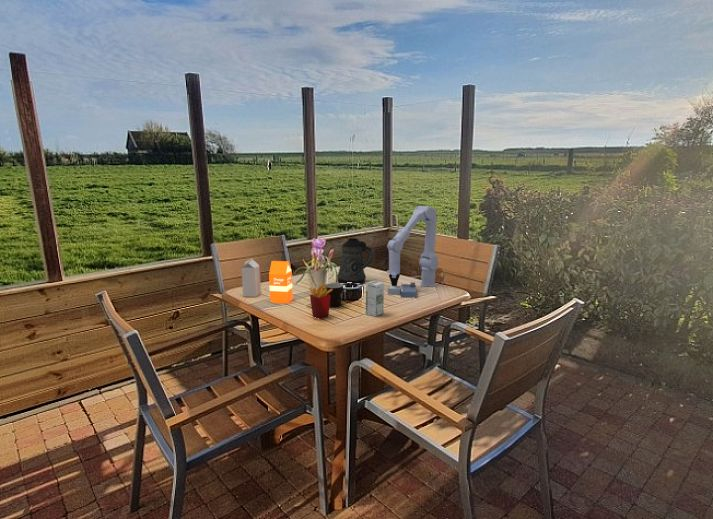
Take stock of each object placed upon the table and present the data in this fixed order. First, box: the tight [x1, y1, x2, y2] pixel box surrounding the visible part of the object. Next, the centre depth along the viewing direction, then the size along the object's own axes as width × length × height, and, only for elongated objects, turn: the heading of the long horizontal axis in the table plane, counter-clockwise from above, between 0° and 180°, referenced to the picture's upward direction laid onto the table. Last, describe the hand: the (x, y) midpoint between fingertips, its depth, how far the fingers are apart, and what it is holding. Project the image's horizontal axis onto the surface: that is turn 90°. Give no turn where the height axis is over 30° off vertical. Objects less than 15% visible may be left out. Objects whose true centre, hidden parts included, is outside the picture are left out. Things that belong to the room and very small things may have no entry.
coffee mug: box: [325, 282, 344, 309], centre depth 200 cm, size 12×9×10 cm
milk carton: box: [240, 257, 262, 298], centre depth 216 cm, size 7×7×19 cm
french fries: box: [309, 283, 333, 320], centre depth 183 cm, size 9×8×15 cm
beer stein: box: [336, 237, 374, 285], centre depth 241 cm, size 16×19×25 cm
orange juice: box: [268, 260, 294, 304], centre depth 206 cm, size 8×9×20 cm
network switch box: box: [400, 282, 417, 298], centre depth 218 cm, size 14×8×4 cm, turn 173°
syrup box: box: [365, 280, 385, 317], centre depth 186 cm, size 6×6×14 cm
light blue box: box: [387, 285, 401, 295], centre depth 219 cm, size 6×6×3 cm
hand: (394, 287), depth 223 cm, fingers closed
